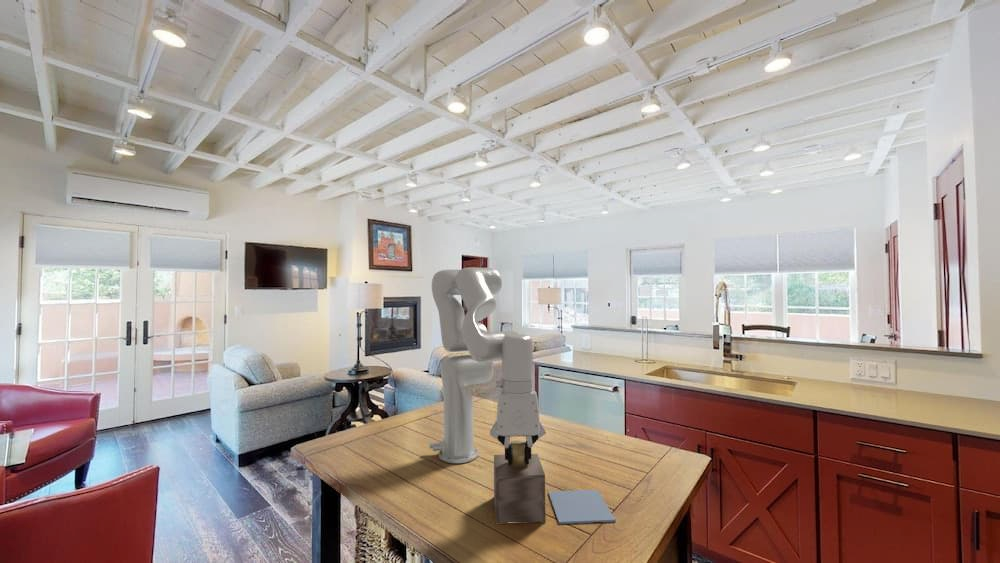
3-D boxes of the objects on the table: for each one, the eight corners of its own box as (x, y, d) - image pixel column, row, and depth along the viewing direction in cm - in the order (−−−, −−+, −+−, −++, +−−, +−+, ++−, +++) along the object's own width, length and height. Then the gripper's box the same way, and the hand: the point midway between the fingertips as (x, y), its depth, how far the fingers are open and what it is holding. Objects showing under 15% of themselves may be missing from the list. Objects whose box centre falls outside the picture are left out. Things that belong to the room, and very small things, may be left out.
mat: (558, 524, 84) (558, 521, 84) (548, 493, 97) (548, 491, 97) (615, 521, 85) (615, 519, 85) (597, 491, 98) (597, 489, 98)
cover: (496, 524, 84) (495, 453, 85) (494, 497, 95) (493, 435, 96) (545, 522, 85) (544, 452, 85) (537, 495, 96) (537, 434, 96)
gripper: (483, 390, 87) (483, 470, 86) (554, 389, 88) (555, 468, 87) (483, 382, 94) (483, 456, 94) (548, 381, 95) (549, 454, 95)
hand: (518, 461), depth 90 cm, fingers closed on cover, 3 cm apart
